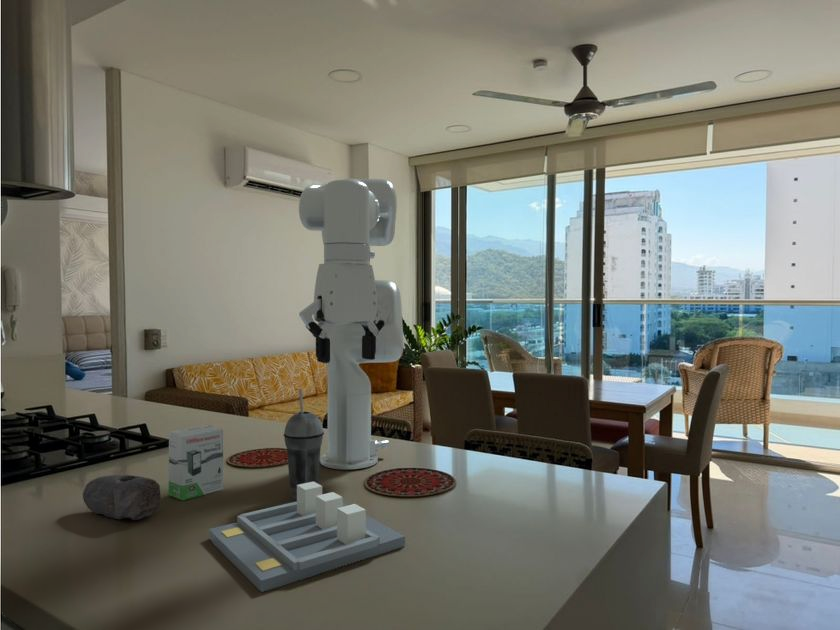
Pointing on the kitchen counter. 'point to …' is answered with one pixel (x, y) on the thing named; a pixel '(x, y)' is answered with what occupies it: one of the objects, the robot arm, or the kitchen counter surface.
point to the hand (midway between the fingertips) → (346, 360)
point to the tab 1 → (307, 497)
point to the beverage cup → (303, 447)
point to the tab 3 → (351, 523)
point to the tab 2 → (327, 509)
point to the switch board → (294, 545)
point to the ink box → (195, 462)
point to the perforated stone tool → (123, 496)
